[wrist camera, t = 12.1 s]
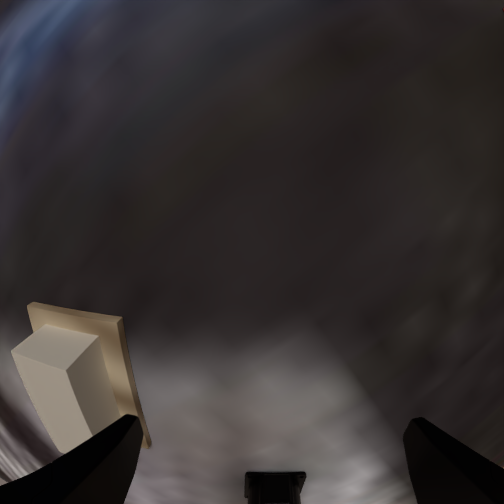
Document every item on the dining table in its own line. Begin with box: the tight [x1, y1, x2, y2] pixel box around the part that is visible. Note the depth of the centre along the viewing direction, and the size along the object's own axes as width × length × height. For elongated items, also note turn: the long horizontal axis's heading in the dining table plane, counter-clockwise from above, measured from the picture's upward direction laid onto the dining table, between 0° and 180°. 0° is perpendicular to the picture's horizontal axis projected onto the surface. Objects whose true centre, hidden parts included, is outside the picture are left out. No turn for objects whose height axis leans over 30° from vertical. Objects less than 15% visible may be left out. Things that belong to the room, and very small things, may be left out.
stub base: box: [27, 302, 151, 449], centre depth 20 cm, size 15×10×4 cm, turn 178°
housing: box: [11, 324, 121, 454], centre depth 19 cm, size 12×6×5 cm, turn 178°
